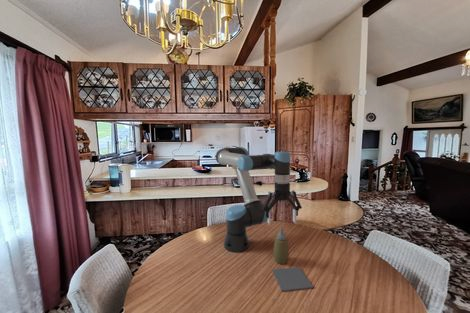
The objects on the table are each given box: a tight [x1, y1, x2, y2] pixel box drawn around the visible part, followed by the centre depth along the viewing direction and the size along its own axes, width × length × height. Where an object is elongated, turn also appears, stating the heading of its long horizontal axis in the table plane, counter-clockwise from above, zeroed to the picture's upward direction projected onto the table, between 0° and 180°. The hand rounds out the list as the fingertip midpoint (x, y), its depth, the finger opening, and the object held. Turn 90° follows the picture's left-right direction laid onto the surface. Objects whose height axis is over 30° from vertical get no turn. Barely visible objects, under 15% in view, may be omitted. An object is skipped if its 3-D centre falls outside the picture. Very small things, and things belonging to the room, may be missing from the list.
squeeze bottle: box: [273, 227, 290, 265], centre depth 111 cm, size 8×8×18 cm
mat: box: [271, 266, 314, 292], centre depth 98 cm, size 14×14×1 cm
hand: (281, 222), depth 109 cm, fingers open, 13 cm apart
